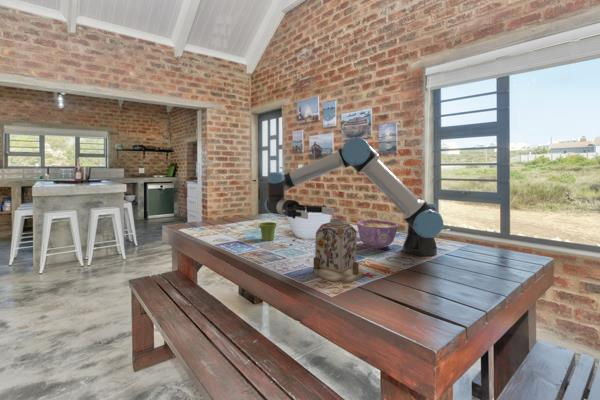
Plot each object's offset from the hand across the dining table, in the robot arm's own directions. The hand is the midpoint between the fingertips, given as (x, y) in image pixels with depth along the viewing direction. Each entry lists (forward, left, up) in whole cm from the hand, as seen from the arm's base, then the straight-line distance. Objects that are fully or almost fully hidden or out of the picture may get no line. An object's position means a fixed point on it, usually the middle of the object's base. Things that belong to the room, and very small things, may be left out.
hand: (320, 213), depth 126 cm
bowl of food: (-34, -27, -21) cm, 49 cm away
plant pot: (+19, -46, -21) cm, 54 cm away
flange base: (-5, +9, -21) cm, 24 cm away
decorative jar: (-5, +7, -19) cm, 21 cm away
